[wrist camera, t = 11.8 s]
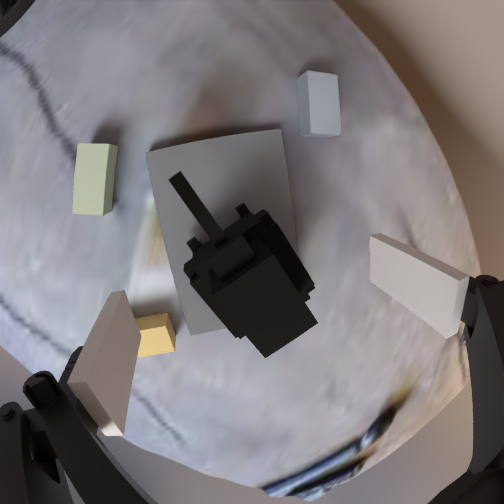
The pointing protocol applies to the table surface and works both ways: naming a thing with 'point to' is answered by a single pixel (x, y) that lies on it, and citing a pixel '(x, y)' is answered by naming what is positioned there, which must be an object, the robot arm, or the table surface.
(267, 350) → the toy
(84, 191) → the sage brick
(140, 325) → the mustard brick
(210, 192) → the felt pad
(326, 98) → the dusty blue brick
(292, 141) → the table surface
